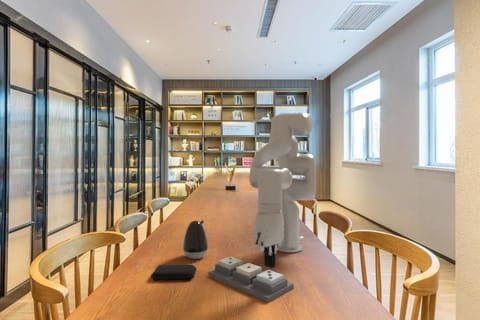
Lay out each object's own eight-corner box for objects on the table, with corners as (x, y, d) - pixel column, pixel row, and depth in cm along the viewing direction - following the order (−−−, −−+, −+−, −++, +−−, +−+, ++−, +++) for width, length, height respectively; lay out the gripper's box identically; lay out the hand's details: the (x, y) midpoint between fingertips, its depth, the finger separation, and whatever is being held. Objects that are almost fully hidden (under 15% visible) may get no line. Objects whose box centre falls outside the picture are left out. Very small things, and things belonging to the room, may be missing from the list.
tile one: (248, 268, 107) (248, 262, 106) (261, 273, 102) (261, 266, 102) (236, 273, 102) (236, 266, 102) (249, 278, 98) (249, 271, 98)
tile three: (268, 275, 100) (268, 269, 100) (283, 281, 96) (283, 274, 96) (256, 281, 96) (256, 274, 96) (271, 287, 92) (271, 280, 92)
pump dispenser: (213, 255, 128) (212, 219, 128) (197, 263, 119) (197, 224, 119) (194, 251, 133) (193, 216, 133) (177, 258, 124) (177, 221, 124)
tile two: (230, 261, 113) (230, 255, 113) (242, 266, 109) (242, 259, 109) (218, 266, 109) (218, 260, 108) (230, 270, 104) (230, 264, 104)
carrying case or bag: (197, 270, 113) (158, 270, 113) (197, 262, 113) (157, 262, 113) (193, 282, 103) (149, 282, 103) (193, 273, 103) (149, 273, 103)
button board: (234, 265, 116) (234, 256, 116) (293, 288, 98) (293, 277, 97) (208, 275, 107) (208, 266, 107) (267, 302, 88) (267, 290, 88)
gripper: (275, 204, 103) (275, 257, 103) (244, 209, 92) (244, 269, 93) (293, 206, 98) (293, 263, 98) (263, 213, 87) (263, 276, 88)
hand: (269, 266), depth 96 cm, fingers closed
